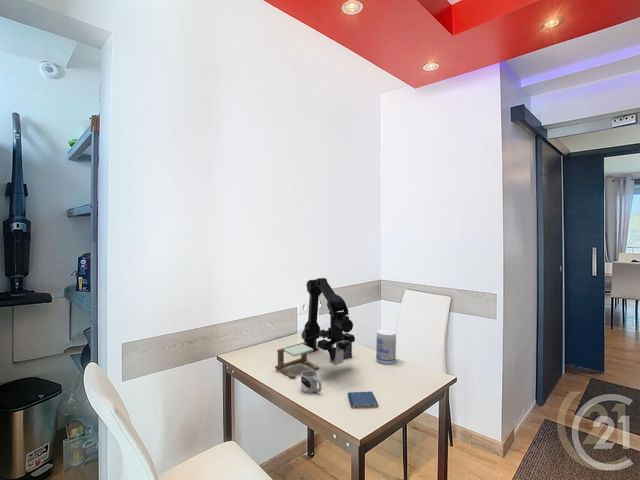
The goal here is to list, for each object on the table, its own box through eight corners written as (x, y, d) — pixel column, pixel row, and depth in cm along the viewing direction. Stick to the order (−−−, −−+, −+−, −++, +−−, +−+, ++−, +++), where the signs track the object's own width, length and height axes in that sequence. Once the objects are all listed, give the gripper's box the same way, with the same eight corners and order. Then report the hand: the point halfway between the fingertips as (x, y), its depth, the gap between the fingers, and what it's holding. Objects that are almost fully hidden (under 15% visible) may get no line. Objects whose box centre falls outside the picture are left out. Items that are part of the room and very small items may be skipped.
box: (335, 354, 174) (335, 334, 174) (345, 352, 177) (345, 332, 176) (342, 359, 167) (342, 339, 167) (352, 357, 169) (352, 337, 169)
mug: (297, 389, 137) (297, 373, 137) (309, 383, 142) (309, 368, 141) (315, 398, 130) (315, 381, 130) (326, 391, 135) (326, 375, 135)
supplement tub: (374, 363, 163) (374, 333, 162) (378, 355, 172) (378, 328, 171) (394, 366, 159) (394, 335, 159) (397, 358, 168) (397, 330, 168)
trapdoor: (283, 350, 155) (283, 349, 155) (302, 345, 162) (301, 343, 162) (294, 356, 148) (294, 354, 148) (313, 350, 155) (313, 349, 155)
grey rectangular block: (336, 359, 155) (336, 347, 155) (343, 362, 152) (343, 349, 152) (329, 362, 153) (329, 349, 152) (336, 365, 149) (336, 352, 149)
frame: (275, 368, 157) (274, 347, 156) (301, 360, 166) (301, 340, 166) (291, 379, 146) (291, 357, 145) (319, 369, 156) (319, 348, 155)
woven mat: (379, 409, 123) (379, 404, 123) (351, 410, 122) (351, 405, 122) (373, 395, 133) (373, 390, 133) (347, 396, 132) (347, 391, 132)
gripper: (339, 318, 164) (339, 349, 164) (309, 325, 152) (309, 359, 153) (355, 323, 155) (355, 356, 156) (325, 331, 143) (325, 367, 144)
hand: (336, 359), depth 152 cm, fingers closed on grey rectangular block, 4 cm apart
